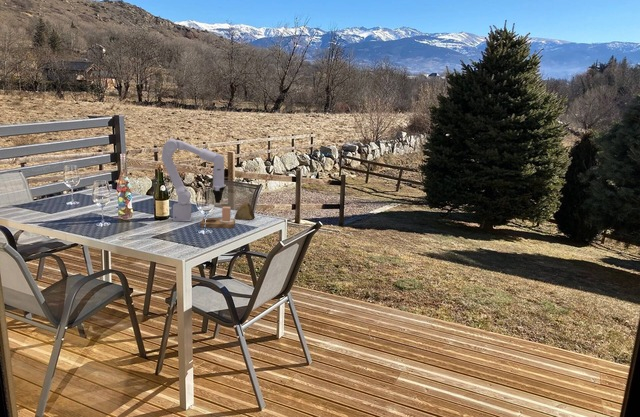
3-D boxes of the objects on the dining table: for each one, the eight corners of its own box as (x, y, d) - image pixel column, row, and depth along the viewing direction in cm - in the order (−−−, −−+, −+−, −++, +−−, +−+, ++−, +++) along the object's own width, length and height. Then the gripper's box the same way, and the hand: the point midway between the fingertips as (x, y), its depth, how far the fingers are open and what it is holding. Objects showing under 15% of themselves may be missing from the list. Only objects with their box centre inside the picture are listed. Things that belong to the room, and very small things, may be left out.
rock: (229, 215, 264) (243, 215, 259) (234, 201, 267) (248, 202, 262) (240, 223, 272) (254, 224, 267) (245, 210, 275) (258, 211, 270)
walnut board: (200, 227, 245) (200, 223, 244) (203, 221, 256) (203, 218, 256) (233, 228, 247) (233, 224, 246) (235, 222, 258) (235, 218, 258)
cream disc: (219, 222, 248) (219, 221, 248) (220, 219, 255) (220, 218, 254) (232, 223, 248) (232, 222, 248) (233, 219, 255) (233, 218, 255)
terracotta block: (222, 221, 249) (222, 208, 248) (222, 219, 253) (223, 206, 252) (229, 221, 250) (230, 208, 248) (230, 219, 254) (230, 206, 252)
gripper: (224, 179, 250) (224, 204, 253) (227, 175, 264) (227, 198, 267) (211, 178, 249) (211, 203, 252) (214, 174, 264) (214, 198, 266)
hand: (218, 201), depth 260 cm, fingers open, 7 cm apart
